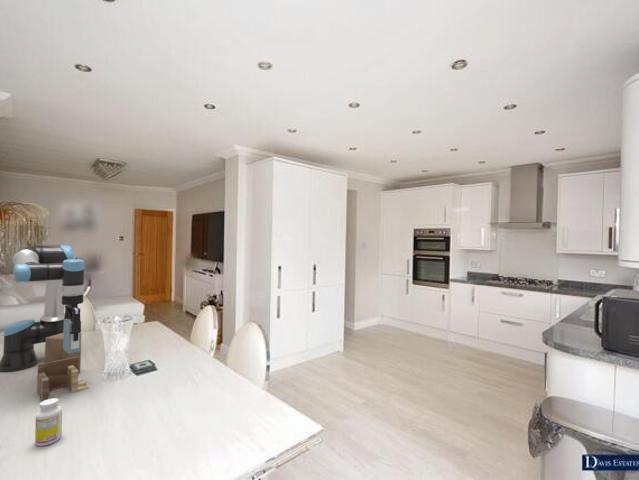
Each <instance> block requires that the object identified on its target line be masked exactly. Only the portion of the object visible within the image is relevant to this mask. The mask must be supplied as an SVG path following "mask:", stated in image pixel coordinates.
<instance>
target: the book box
mask: <svg viewBox="0 0 639 480" xmlns="http://www.w3.org/2000/svg"><path fill="white" fill-rule="evenodd" d="M72 324H73V323H72V322H71V319H64V328H63V349H64V350H65V351H66V352H68V353H69V354H70V353H74V352H79V351H80V347H81V348H82V331H81V332H80V333H79V348H75V349H71V334H70V332H72ZM76 330H77V329H76Z"/></svg>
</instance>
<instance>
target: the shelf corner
mask: <svg viewBox="0 0 639 480" xmlns="http://www.w3.org/2000/svg"><path fill="white" fill-rule="evenodd" d="M71 365H73V366H74V367H75V368H76V369H77V370H78V356H76V357H72V358H67V359H62V360H57V361H52V362H48V363H45V362H43V363H40V364H38V363H37V377H36V378H37V382H36V394H37V395H38V397H39V399H40V402H43V401H45V400H48V399H50V391H52V390H57V389H60V388H65V387H67V366H71Z"/></svg>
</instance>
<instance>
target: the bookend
mask: <svg viewBox="0 0 639 480" xmlns="http://www.w3.org/2000/svg"><path fill="white" fill-rule="evenodd" d="M66 387H67V388H68V390H69V391H70V392H71V393H72V394H74V393H77V392H80V391H84V390H87V389H89V387H90V386H89V385H88V384H87V383H86V382H85V380H79V374H78V370H77V369H76V368H75V367H74V366H73V365H71V366H67V386H66Z"/></svg>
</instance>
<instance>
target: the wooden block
mask: <svg viewBox="0 0 639 480" xmlns="http://www.w3.org/2000/svg"><path fill="white" fill-rule="evenodd" d="M44 343H45V344H44V351H45V352H44V363H48V362H52V361H57V360H62V359H67V358H72V357H76V356H78V375H79V374H80V373H81V366H82V365H81V363H82V362H81V359H82V357H81V356H82V346H81V347H80V351H79V352H74V353H70V354H69V353H68V352H66V351H65V350H64V349H63V333H61V334H57V335H53V336H50V337H46V338H45V342H44Z"/></svg>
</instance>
